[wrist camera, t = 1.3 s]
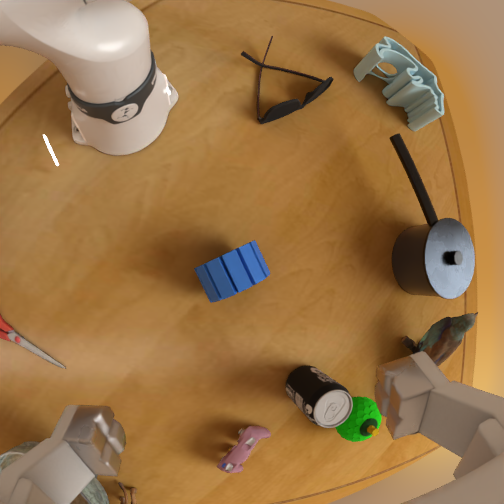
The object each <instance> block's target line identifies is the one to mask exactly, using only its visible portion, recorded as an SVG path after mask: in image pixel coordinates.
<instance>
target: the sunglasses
mask: <svg viewBox="0 0 504 504" xmlns="http://www.w3.org/2000/svg"><path fill="white" fill-rule="evenodd" d="M272 38H273V36H272V37H271V39H270V42H269V45H268V48H267V51H266V53H265V56H264V59H263V63H260V62H258V61H256V60H255V59H254V58H252V57H251V56H250V55H248V54H247V53H245V52H244V51H243V52H242V53H241V55H242V56H244V57H245V58H247V59H249V60H250V61H252V62H253V63H255V64H257V65H259V66H261V70H260V76H259V83H258V99H257V112H258V120H259V119H260V120H259V122H260V123H261V124H264V123H267V122H270V121H273V120H276V119H279V118H281V117H284V116H286V115H288V114H290V113H292V112H294V111H296V110H299V109H302V108H303V107H304V106H305V105H307V104H308V103H310V102H311V101H313V100H314V99H316V98H317V97H318V96H319V95H321V94H322V93H323V92H324V91H325V90H326V89H327V88H328V87H329V86H330V84H331V83H332V81H333V78H332V77H329V78H328V79H327V80H325V81H324V80H322V79H319V78H316V77H313V76H310V75H307V74H303V73H300V72H296V71H292V70H288V69H284V68H279V67H274V66H269V65H265V64H264V61H265V58H266V55H267V52H268V49H269V46H270V43H271V41H272ZM262 67H265V68H270V69H276V70H281V71H285V72H289V73H293V74H297V75H300V76H304V77H307V78H310V79H313V80H316V81H319V82H322V84H320V85H319V86H318V87H317V88H316V89H315V90H314V91H312V92H308V93H307V94H306V97H305V100H304V102H303V104H302V105H301V103H300V101H299V100H298V99H292V100H289V101H285V102H283V103H280V104H277V105H275V106H273V107H271V108H270V109H269V110H268V111H267V112H266V114H265V116H264V118H261V117H260V116H259V92H260V78H261V72H262Z"/></svg>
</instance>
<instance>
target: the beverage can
mask: <svg viewBox="0 0 504 504" xmlns="http://www.w3.org/2000/svg"><path fill="white" fill-rule="evenodd" d="M286 392H287V395H288V396H289V397H290V399H291V400H292V401H293V402H294V403H295V404H296V405H297V406H298V408H299V409H300V410H301V411H302V412H303V413H304V414H305V415H306V416H307V417H308V419H309V420H310V421H311V422H312V423H314V424H316V425H318V426H322V427H325V428H332V427H336V426H338V425H340V424H342V423H343V422H344V421H345V420H346V419H347V418H348V417H349V415H350V413H351V411H352V406H353V402H352V398H351V396H350V394H349V392H348V390H347V389H346V388H345V387H344V386H342V385H341V384H339V383H338V382H336V381H335V380H333V379H332V378H330V377H329V376H327V375H326V374H324V373H323V372H321V371H320V370H318V369H317V368H315V367H313V366H302V367H299V368H297V369H295V370H294V371H293V372H292V373H291V374H290V375H289V377H288V379H287V381H286Z"/></svg>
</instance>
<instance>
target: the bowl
mask: <svg viewBox="0 0 504 504" xmlns="http://www.w3.org/2000/svg"><path fill="white" fill-rule="evenodd" d="M39 443H41V442H32V441H29V442H24V443H23V444H21V445H18V446H16V447H14V448H12V449H10V450H9V451H7V452H5V453H4V454H2V455H0V474H1V472H2V470H3V469H5V468H6V467H8V466H9V465H10V464H12V463H13V462H15V461H16V460H17V459H19V458H20V457H21V456H23V455H24V454H26V453H27V452H28V451H30V450H31V449H32V448H34V447H35V446H37V445H38V444H39ZM70 504H109V500H108V496H107V494H106V492H105V489H104V487H102V485H101V484H100V482H99V481H98V480H97V475H95V477H94V478H93V479H92V480H91V481H90V482H89V483H88V485H87V486H86V487H85V488H84V489H83V490H82V491H81V492H80V493H79V494H78V495H77V497H76V498H75V499H74V500H73V501H72V502H71V503H70Z"/></svg>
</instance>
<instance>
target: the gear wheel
mask: <svg viewBox="0 0 504 504" xmlns="http://www.w3.org/2000/svg"><path fill="white" fill-rule="evenodd" d="M194 270H195V272H196V274H197V276H198V278H199V280H200V282H201V284H202V286H203V288H204V290H205V293H206V295H207V297H208V299H209V301H210V302H216V301H220V300H222V299H225V298H228V297H230V296H233V295H235V294H236V293H237V292H241V291H244V290H246V289H248V288H250V287H252V285H255V284H257V283H259V282H260V281H262V280H264V279H265V278H266V277H268V276H269V275H270V271H269V269H268V267H267V265H266V263H265V260H264V258H263V256H262V254H261V252H260V250H259V248H258V245H257V243H256V241H255V240H254V241H252V242H250V243H247V244H245V245H243V246H241V247H239V248H237V249H235V250H232V251H230V252H228V253H226V254H224V255H222V256H220V257H218V258H216V259H213V260H211V261H209V262H207V263H205V264H203V265H201V266H199V267H196V268H194Z"/></svg>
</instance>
